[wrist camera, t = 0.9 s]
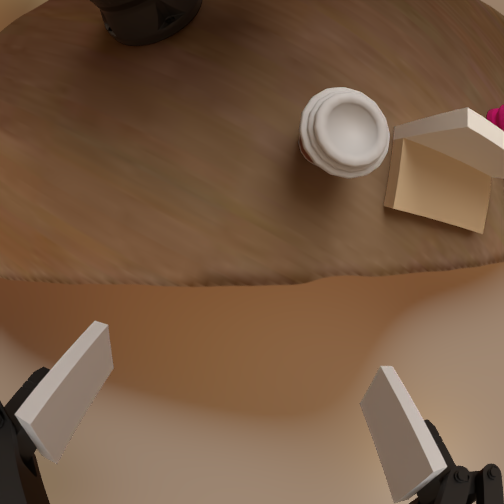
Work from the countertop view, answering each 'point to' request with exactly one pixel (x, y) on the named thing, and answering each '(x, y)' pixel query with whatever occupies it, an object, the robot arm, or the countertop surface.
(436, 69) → the countertop surface
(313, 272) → the countertop surface
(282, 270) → the countertop surface
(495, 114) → the pepper mill
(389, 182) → the board
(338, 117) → the coffee cup
